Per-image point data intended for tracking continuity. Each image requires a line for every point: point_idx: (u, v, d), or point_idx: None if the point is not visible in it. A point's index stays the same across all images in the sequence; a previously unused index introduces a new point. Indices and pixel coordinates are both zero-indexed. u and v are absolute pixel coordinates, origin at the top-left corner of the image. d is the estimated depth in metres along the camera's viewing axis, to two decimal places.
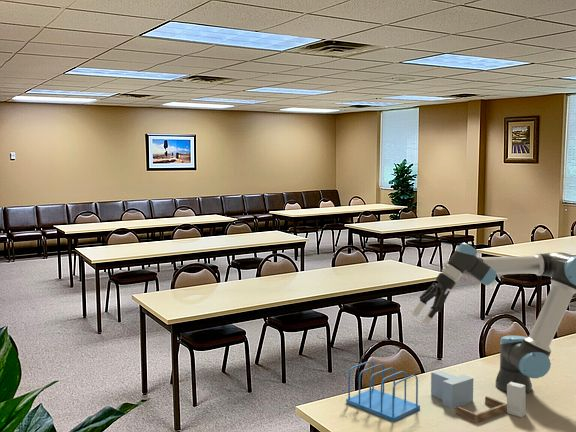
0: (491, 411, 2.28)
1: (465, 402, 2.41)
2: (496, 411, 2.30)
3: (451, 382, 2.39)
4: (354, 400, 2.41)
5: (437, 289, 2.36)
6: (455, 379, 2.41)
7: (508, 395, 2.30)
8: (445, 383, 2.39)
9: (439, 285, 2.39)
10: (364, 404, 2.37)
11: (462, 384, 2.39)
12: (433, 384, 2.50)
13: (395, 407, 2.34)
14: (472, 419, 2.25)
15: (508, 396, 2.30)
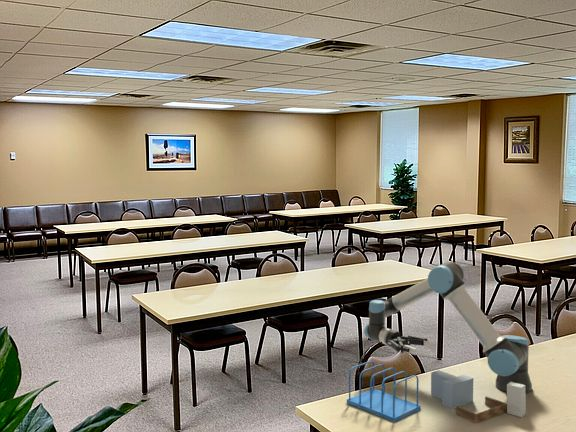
0: (491, 411, 2.28)
1: (465, 402, 2.41)
2: (496, 411, 2.30)
3: (451, 382, 2.39)
4: (355, 401, 2.41)
5: None
6: (455, 379, 2.41)
7: (508, 395, 2.30)
8: (445, 383, 2.39)
9: None
10: (365, 404, 2.37)
11: (462, 384, 2.39)
12: (433, 384, 2.50)
13: (396, 407, 2.34)
14: (472, 419, 2.25)
15: (508, 396, 2.30)
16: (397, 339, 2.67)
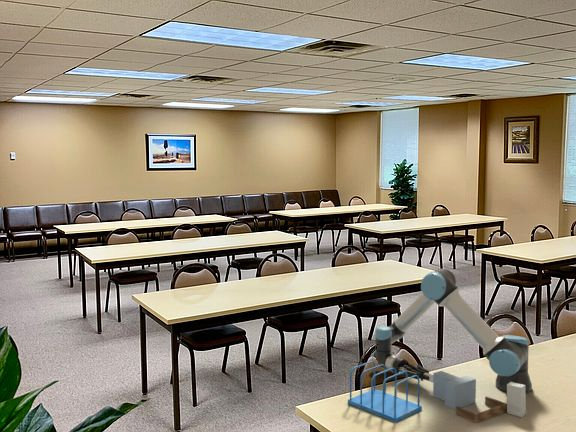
0: (491, 411, 2.28)
1: (467, 403, 2.40)
2: (496, 411, 2.30)
3: (453, 383, 2.38)
4: (356, 401, 2.41)
5: None
6: (458, 380, 2.40)
7: (508, 395, 2.30)
8: (447, 384, 2.38)
9: None
10: (366, 405, 2.37)
11: (464, 385, 2.38)
12: (435, 385, 2.49)
13: (397, 408, 2.34)
14: (472, 419, 2.25)
15: (508, 396, 2.30)
16: (405, 367, 2.64)
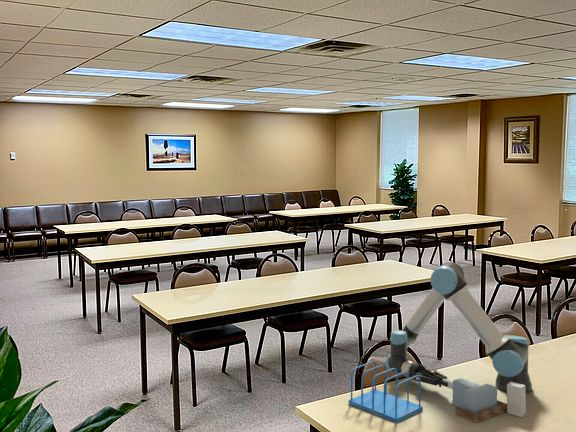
0: (491, 411, 2.28)
1: None
2: (496, 411, 2.30)
3: (473, 391, 2.29)
4: (357, 401, 2.40)
5: None
6: (478, 388, 2.31)
7: (508, 395, 2.30)
8: (467, 392, 2.29)
9: None
10: (367, 405, 2.37)
11: (485, 394, 2.29)
12: (455, 392, 2.40)
13: (398, 408, 2.33)
14: (472, 419, 2.25)
15: (508, 396, 2.30)
16: (422, 373, 2.56)
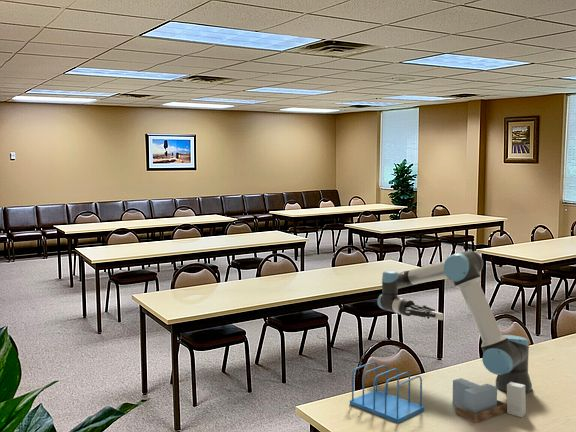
0: (491, 411, 2.28)
1: None
2: (496, 411, 2.30)
3: (473, 391, 2.29)
4: (358, 402, 2.40)
5: None
6: (478, 388, 2.31)
7: (508, 395, 2.30)
8: (467, 392, 2.29)
9: None
10: (368, 405, 2.36)
11: (485, 394, 2.29)
12: (455, 392, 2.40)
13: (399, 408, 2.33)
14: (472, 419, 2.25)
15: (508, 396, 2.30)
16: (411, 307, 2.70)
